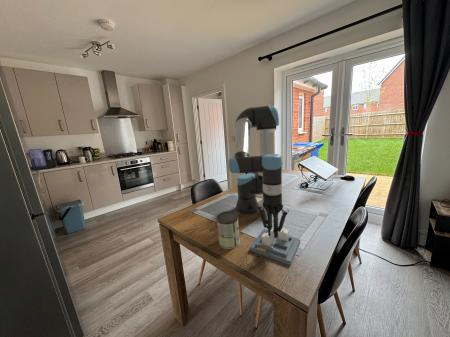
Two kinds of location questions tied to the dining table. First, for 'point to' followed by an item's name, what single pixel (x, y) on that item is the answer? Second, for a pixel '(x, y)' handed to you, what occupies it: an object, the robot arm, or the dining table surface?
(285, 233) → the tab
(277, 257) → the switch board
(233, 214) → the coffee can
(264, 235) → the tab
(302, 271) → the dining table surface
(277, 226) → the robot arm
